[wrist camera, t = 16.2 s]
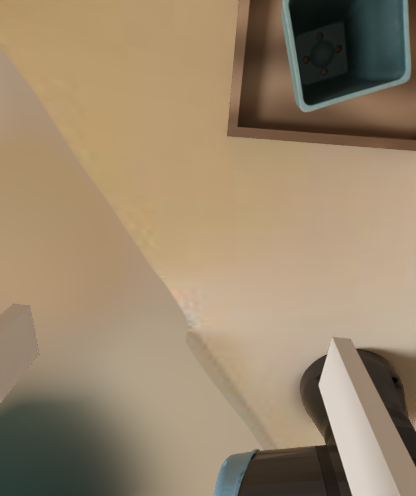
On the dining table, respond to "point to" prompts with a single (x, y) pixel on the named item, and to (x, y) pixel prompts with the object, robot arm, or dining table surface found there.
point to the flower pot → (345, 48)
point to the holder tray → (283, 100)
